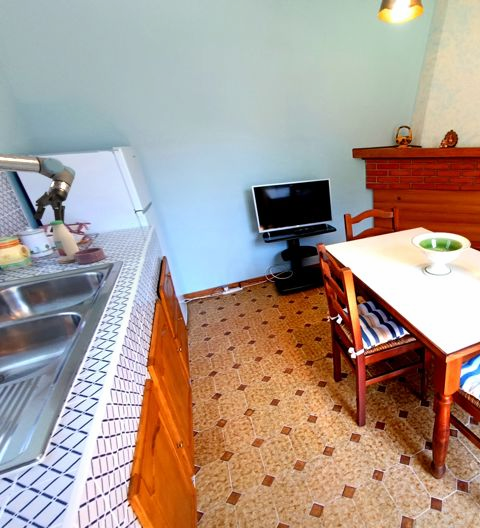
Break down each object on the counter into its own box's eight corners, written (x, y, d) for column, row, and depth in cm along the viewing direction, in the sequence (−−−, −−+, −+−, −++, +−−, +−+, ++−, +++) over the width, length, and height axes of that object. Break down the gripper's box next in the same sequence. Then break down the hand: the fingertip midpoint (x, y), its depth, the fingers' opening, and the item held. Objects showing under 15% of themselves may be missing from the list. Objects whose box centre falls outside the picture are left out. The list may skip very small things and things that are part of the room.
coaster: (62, 265, 148) (61, 264, 148) (55, 261, 154) (55, 260, 154) (89, 258, 156) (88, 257, 156) (82, 255, 162) (81, 254, 162)
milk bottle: (81, 255, 160) (66, 218, 152) (82, 258, 155) (66, 220, 147) (62, 259, 155) (45, 221, 148) (62, 262, 150) (44, 224, 142)
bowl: (81, 266, 145) (77, 256, 143) (73, 262, 152) (69, 253, 150) (109, 258, 154) (105, 249, 152) (101, 255, 160) (97, 246, 158)
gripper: (54, 177, 151) (40, 213, 143) (78, 205, 173) (67, 237, 165) (35, 175, 149) (19, 211, 141) (62, 204, 171) (50, 236, 162)
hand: (45, 225), depth 153 cm, fingers open, 13 cm apart
